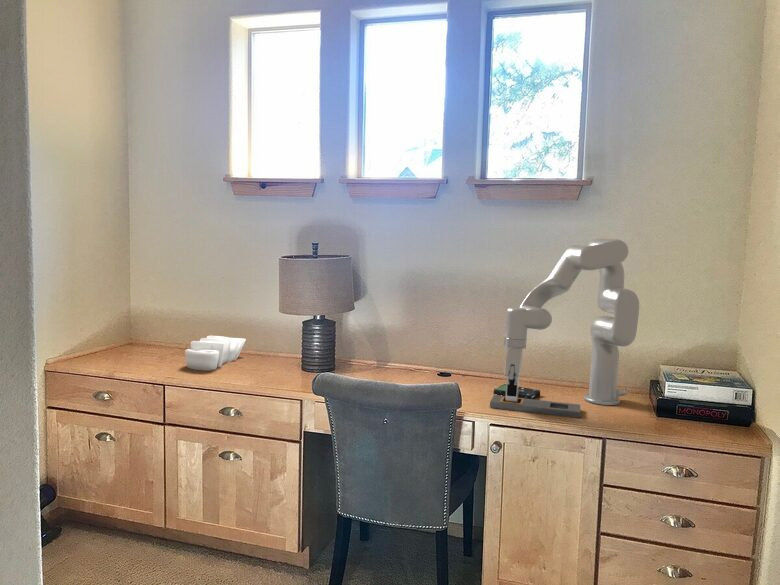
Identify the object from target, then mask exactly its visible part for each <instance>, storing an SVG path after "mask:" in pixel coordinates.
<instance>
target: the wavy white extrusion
mask: <svg viewBox="0 0 780 585" xmlns="http://www.w3.org/2000/svg"><path fill="white" fill-rule="evenodd" d="M246 341H247V338H241V337H230V336H222V335H211V334H210V335H207V336H206V337H201V338H200V339H199V340H192V341H190V344H189V345H190V348H186V349H185V350H184V355H185V362H186V368H189V369H191V370H197V371H203V372H204V371H205V372H206V371H215V370H217V369H218V368H221V367H222V365H223V364H224V363H231V362H233V361H234V360H237V359H238V357H239V355H240V353H241V351H242V349H243V348H244V345H245V342H246Z"/></svg>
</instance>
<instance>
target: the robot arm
mask: <svg viewBox="0 0 780 585" xmlns="http://www.w3.org/2000/svg"><path fill="white" fill-rule="evenodd" d="M628 256H629V247H628V244H627V243H626V242H625V241H623V240H620V239H615V238H614V239H613V238H595V239H592V240H590V241H589V242H588V244H587V245H570V246H568V247H566V249H565V251H563V253H562V255H561V257H559V259H558V260H557V263H556V264H555V265H554V267H553V268H552V270H551V271H550V273H549V275H548V276H547V277H546V278H545V279H544V280H543V281H541V282H540V283H539V284H538V285H537V286H535V287H534V288H533V289H532V290H531V291H530V292H529V293H528V294H527V296H526V297H525V299H524V300H522V303H521V304H520V306H519V307H517V306H516V307H515V306H514V307H508V308H507V309H506V311H505V326H504V339H503V340H504V343H503V347H504V348H506V352H505V362H504V370H503V371H504V374H503V375H504V377H507V375H508V373H509V376H508V384H507V396H513V397H516V392H517V385H516V379H517V377H518V376H519V377H520V373H521V370H522V362H523V361H522V360H523V350H524V349H526V348H527V335H528V334H527V333H528V329H529V330H530V329H531V330H538V331H539V330H540V331H541V330H545V329H547V328H549V327H550V326H551V324H552V323H553V322H552V321H553V317H552V314H551V312H550V311H548V310H547V309H545V308H542V307H543V306H544V305H545V304H546V303H547V302H549V301H550V300H552V299H554V298H556V297H559V296H561V295H563V294H565V293H568V291H570V289H571V287H572V286H573V284H574V283H575V281H576V279H577V278H578V276H579V275H580V273H581V272H582V271H597V270H598V272H599V284H598V294H597V307H598V308H599V310H601V311H602V312H605V313H608V314H613V316H608V315H599V316H598V317H596V318H594V319H593V321H592V323H591V325H590V329H589V330H590V337H591V339H590V340H591V357H590V358H591V360H590V372H589V384H588V385H589V386H588V393H587V394H584V397H583V398H584V399H583V400H585V401H586V402H588V403H592V404H594V405H595V404H596V405H602V406H617V405H619V404H620V403H621V399H620V398H619V397H620V396H621V397H623V396H627V395H628V392H627V390H625V389H624V390H620V389H617V387H618V372H619V358H620V352H619V347H622V348H623V347H628V346H630V345H631V344H632V343H633V342H634V341H635V340H636V337H637V332H638V326H639V325H638V324H639V316H640V314H639V313H640V300H639V297H638V294H636V293H635V292H634V290H632V289H629V288H625V270H624V265H623V264H622V263H623V262H624V261H625V260H627V258H628ZM514 374H516V375H515V376H514ZM514 378H515V379H514Z"/></svg>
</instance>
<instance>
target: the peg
mask: <svg viewBox="0 0 780 585" xmlns="http://www.w3.org/2000/svg"><path fill="white" fill-rule="evenodd" d="M515 375H516V374H514V376H515ZM508 376H509V373H508V375H506V381H505V382H506V383H505V384H506V397H505V402H512V403H518V391H519V387H520V375H519V376H518V377H517V379H516V385H517V392H516V397H513V396H507V384H508ZM514 379H515V378H514Z"/></svg>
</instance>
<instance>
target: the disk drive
mask: <svg viewBox="0 0 780 585" xmlns="http://www.w3.org/2000/svg"><path fill="white" fill-rule="evenodd" d="M495 394H497V395H498V396H500V395H502V396H506V383H504V384H502V385H499V386H498V387H496V388H493V395H495ZM539 397H541V390H538V389H536V388H535V389H534V388H528V387H524V386H523V387H522V386H519V391H518V398H525V399H534V400H536V399H538V398H539ZM535 398H536V399H535Z"/></svg>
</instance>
